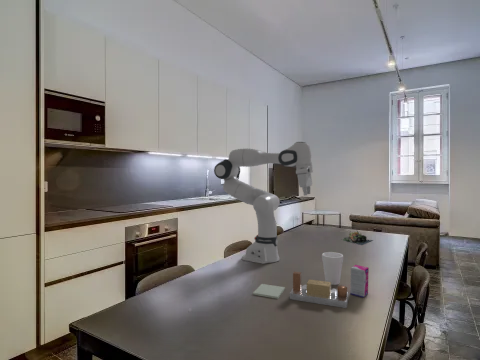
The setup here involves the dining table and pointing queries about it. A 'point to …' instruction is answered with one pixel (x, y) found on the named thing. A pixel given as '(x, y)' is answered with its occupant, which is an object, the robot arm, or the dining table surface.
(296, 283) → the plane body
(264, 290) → the sage mat
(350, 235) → the plated dish
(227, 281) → the dining table surface
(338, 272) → the foam cup
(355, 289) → the supplement box
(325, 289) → the tan upright box
